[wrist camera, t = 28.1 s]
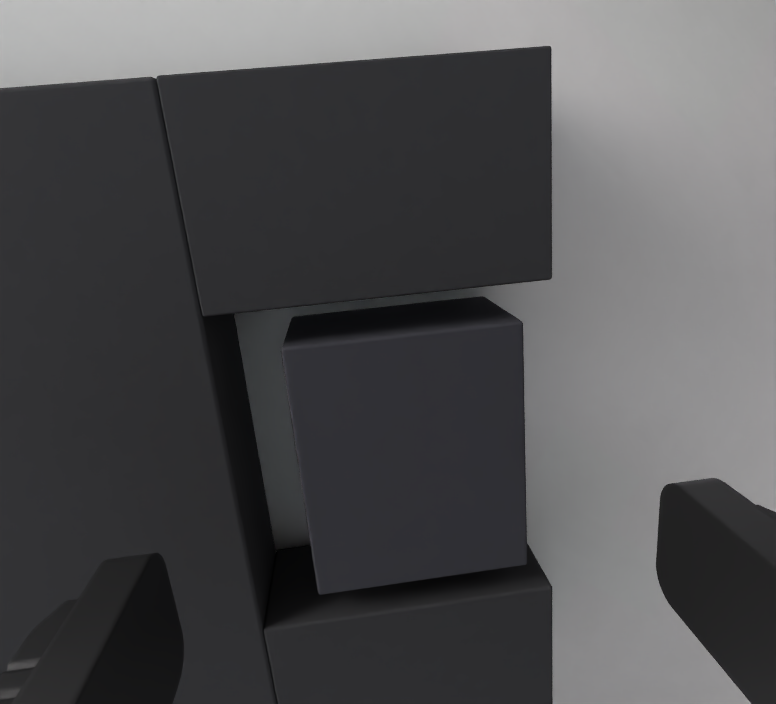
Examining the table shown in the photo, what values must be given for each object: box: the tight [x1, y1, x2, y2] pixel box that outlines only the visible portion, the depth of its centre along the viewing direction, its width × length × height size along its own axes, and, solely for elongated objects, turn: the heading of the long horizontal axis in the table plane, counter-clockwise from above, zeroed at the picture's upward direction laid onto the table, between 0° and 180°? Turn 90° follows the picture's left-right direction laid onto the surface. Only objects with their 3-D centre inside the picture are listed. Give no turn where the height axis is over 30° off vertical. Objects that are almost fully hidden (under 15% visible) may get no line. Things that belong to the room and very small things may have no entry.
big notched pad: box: [0, 46, 552, 704], centre depth 12 cm, size 24×16×3 cm, turn 95°
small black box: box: [281, 297, 527, 595], centre depth 13 cm, size 5×6×3 cm
